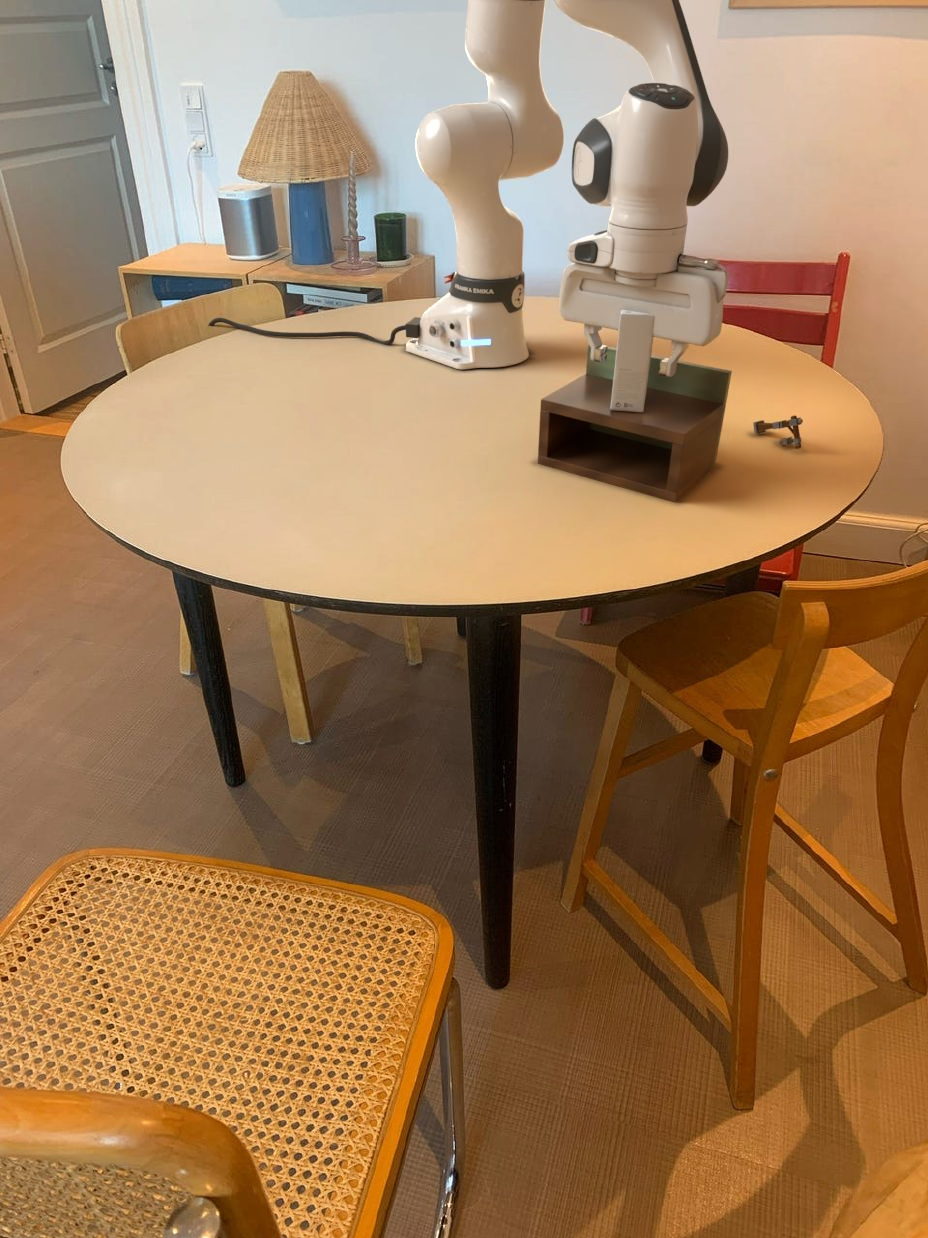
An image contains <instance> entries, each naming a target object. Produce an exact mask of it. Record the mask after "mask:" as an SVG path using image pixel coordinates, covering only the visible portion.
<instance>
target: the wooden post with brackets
mask: <svg viewBox="0 0 928 1238" xmlns="http://www.w3.org/2000/svg"><path fill="white" fill-rule="evenodd" d="M752 422H753V432H754V436H756V435H759V434H763V433H767V432H766V431H768V430H779V429H784V428H787V429H788V430H789V431H790V433H791V434H792V435H793V437H792V436H788V437H783V438H780V440H779V444H780V446H791V445H794V447H795V449H797V450H799V449H802V448H803V446H802V437H801V435H800V427H799V426H800V425H802V424H803V423H804V420H803V418H801V417H798V416H797V415H791V416H790V418H789V419H788V420H787V419H784V420H780V421H774V422H765V420H764V419H761V420H757V421H752Z"/></svg>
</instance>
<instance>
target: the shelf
mask: <svg viewBox="0 0 928 1238" xmlns="http://www.w3.org/2000/svg"><path fill="white" fill-rule="evenodd" d="M607 346H608V350H607V352H606V353H607V358H606V360H605V361H603V362H596V361H591V360H590V356H591V347H590V345H589V344H588V345H587V355H586V366H585V369H586V370H585V373H584V374H583V375H581V376H580V377H578V378H576V379H574V380H572V381H571V382H569V383H566V384H565V385H564V386H562V387H560V388H557V389H556V390H555V391H553V392H551V393H549V394H548V395H546V396H544V397H543V398H541V399H540V409H539V410H540V411H539V431H538V449H537V450H538V451H537V464H538V465H543V466H546V467H549V468H553V469H557V470H559V471H563V472H567V473H570V474H574V475H578V476H581V477H585V478H588V479H592V480H596V481H599V482H603V483H606V484H610V485H613V486H617V487H620V488H624V489H627V490H630V491H635V492H638V493H642V494H644V495H648V496H652V497H655V498H659V499H663V500H665V501H670V502H673V503H676V502H677V501H678V500H679V499H680V498H682V497H683V496H684V495H685V494H686V493H687V492H688V491H689V490H690V489H691V488H692V487H693V486H695V485H696V484H697V483H699V481H701V479H703V478H704V477H705V476H706V475H707V474H708V473H709V472H711V470H713V469H714V468H715V466H716V464H717V457H718V452H719V445H720V440H721V435H722V430H723V423H724V418H725V413H726V406H727V402H728V396H729V389H730V384H731V379H732V372H733V371H732V370H729V369H724V368H719V367H715V366H709V365H703V364H699V363H693V362H689V361H683V360H680V359H679V360H677V366H676V372H675V374H674V375H673V376H672V377H667V376H663V375H659V370H660V361H662V360H664V359H665V358H666V357H663V356H659V355H653V354H651V360H650V368H649V375H648V382H647V390H646V397H645V404H644V411H643V412H630V411H615V410H611V409H610V407H611V397H612V388H613V379H614V370H615V360H616V350H617V347H613V346H609V345H607Z"/></svg>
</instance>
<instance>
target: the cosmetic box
mask: <svg viewBox="0 0 928 1238" xmlns="http://www.w3.org/2000/svg"><path fill="white" fill-rule="evenodd" d="M654 319H655V316H654V315H652V314H647V313H641V312H634V311H628V310H621V314H620V321H619V330H617V331H618V332H617V341H616V342H617V343H616V348H617V350H616V360H615V370H614V379H613V388H612V397H611V407H610V409H611V410H615V411H630V412H643V411H644V404H645V397H646V390H647V382H648V375H649V368H650V360H651V355H652V350H653V344H654V343H653V342H654V337H653V327H654Z"/></svg>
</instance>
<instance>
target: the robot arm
mask: <svg viewBox="0 0 928 1238" xmlns="http://www.w3.org/2000/svg"><path fill="white" fill-rule="evenodd" d="M553 1H554V3H555V5H556V7H557V8H558V9H559V10H560V11H561V12H562V13H563V14H564V15H565V16H566V17H567V18H569V19H570V20H571V21H573V22H574V23H575V24H578V25H579V26H582V27H584V28H586V29H589V30H592V31H596V32H598V33H602V34H604V35H606V36H609V37H612V38H614V39H616V40H618V41H621V42H622V43H624V44H625V45H628V46H630V48H632V49H633V50H635V51H636V52H637V53H638V54H639V55H640V56H641V57H642V58H643V59H644V61H645V63H646V65H647V67H648V69H649V73H650V75H651V79H652V82H648V83H647V82H645V83H640V84H637V85H634V86H632V87H630V88H629V89H628V90H626V91H625V93H624V95H623V97H622V100H621V103H620V105H619V106H618V107H616V108H615V109H613V110H612V111H609V112H608V113H606V114H604V115H602V116H599V117H594V118H593V117H592V118H591V120H589V121H588V122H587V123H586V124H585V126H584V127H583V128H582V129H581V130H580V132H579V133H578V135H577V136H576V137H575V139H574V142H573V147H572V155H571V182H572V185H573V187H574V188H575V190H576V191H577V192H578V194H579V195H580V196H581V197H582V199H583V200H584V201H586V202H587V203H588V204H590V205H594V206H600V207H611V212H610V215H609V218H608V225H607V229H606V230H601V231H598V232H596V233H594V234H590V235H586V236H583V237H581V238H579V239H576V240H573V241H572V242H570V243H569V244H568V246H567V251H566V253H567V254H566V255H567V259H568V261H570V262H569V263H568V264H567V265H566V266H565V267H564V270H563V272H562V276H561V281H560V286H559V294H558V295H559V296H558V312H559V314H560V317H561V318H562V320H564V321H566V322H572V323H576V324H577V323H578V324H583V325H584V326H583V335H584V336H585V338H586V340H587V343H588V345H590V347H591V356H590V360H591V361H596V362H603V361H605V360H606V358H607V353H606V352H607V350H608V346H609V345H605V344H603V341H602V339H601V337H600V333H599V332H600V331H601V330H602V329H603V328H604V329H609V330H614V331H618V330H619V321H620V314H621V310H628V311H634V312H641V313H647V314H652V315H654V316H655V319H654V327H653V338H656V339H663V340H667V341H671V343H670V350H673V352H672V354H670V355H671V356H670V357H664V358H665V359H664V360H662V361H660V370H659V375H663V376H667V377H672V376H673V375H674V374H675V372H676V366H677V360H679V361H680V359H681V357H682V356H683V355H684V354H685V352H686V351H687V349H688V348H689V346H690V345H694V346H699V347H704V346H707V345H709V344H711V343H712V342H714V340H716V339H717V338H718V337H719V336H720V335H721V333H722V327H723V326H722V325H723V315H724V298H725V296H726V294H727V291H728V284H729V273H728V271H727V269H726V267H725V266H723V265H722V264H721V263H720V262H719V260H717V259H714V258H709V257H708V258H703V257H699V256H695V255H687V254H684V253H685V244H686V237H687V231H688V230H687V229H688V221H689V218H688V210H687V207H696V206H699V204H701V203H702V202H703V201H704V200H706V199H707V198H708V197H709V196H710V195H711V194H712V193H713V192H714V191H715V190H716V188H717V187H718V185H720V183H721V182H722V180H723V178H724V176H725V174H726V172H727V169H728V168H727V167H728V162H729V144H728V138H727V136H726V133H725V130H724V128H723V125H722V123H721V121H720V119H719V117H718V115H717V113H716V111H715V109H714V107H713V105H712V103H711V100H710V98H709V97H710V96H709V94H708V92H707V87H706V84H705V81H704V77H703V73H702V71H701V68H700V65H699V60H698V57H697V54H696V51H695V47H694V44H693V40H692V37H691V34H690V31H689V28H688V24H687V21H686V17H685V14H684V12H683V8H682V5H681V3H680V0H553ZM546 3H547V0H467V10H466V21H465V34H464V50H465V53H466V55H467V58H468V60H469V61H470V62H471V64H472V65H473V67H475V68H476V69H477V70H478V71H479V72H480V73H482V74H483V75H485V77H486V81H487V87H488V97H487V101H486V102H475V103H474V102H471V103H455V104H450V105H448V106H445V107H442V108H439V109H437V110H434V111H431V112H429V113H427V114H426V115H425V116H424V117H423V118H422V120H421V122H420V124H419V126H418V130H417V132H416V137H415V153H416V158H417V161H418V164H419V167H420V168H421V170H422V172H423V174H424V175H425V176H426V177H427V178H428V180H430V181H431V182H432V183H433V184H434V185H436V186H437V187H438V188H439V190H440V191H441V192H442V194H443V196H444V197H445V199H446V200H447V203H448V205H449V207H450V210H451V214H452V217H453V221H454V227H455V239H456V240H455V241H456V268H457V269H456V270H455V271H453V272H451V274H449V275H445V276H444V277H443V278H444V279H446V280H445V281H443V284H448V283H450V286H449V289H448V292H447V293H446V294H445V295H444V296H443V297H441V298H440V299H439V300H437V302H436V303H434V304H433V305H432V306H430V307H429V308H428V309H427V310H425V311H424V313H422V315H421V317H419V316H414V317H412V318H411V319H410V320H408V322H406V323H405V324H404V325H400V326H397V327H395V328H394V329H392V331H391V333H390V338H389V339H388V340H379V339H377V338H375V337H373V336H371V335H369V334H367V333H365V332H359V331H328V332H327V331H326V332H286V331H285V332H284V331H272V330H266V329H261V328H257V327H255V326H250V325H247V324H242V323H238V322H235V321H233V320H230V319H227V318H224V317H216V318H213V319H211V321H209V323H208V324H207V326H208V327H213V326H215V325H216V324H218V323H222V324H226V325H229V326H231V327H234V328H237V329H240V330H246V331H250V332H253V333H256V334H260V335H264V336H269V337H279V338H331V337H332V338H333V337H357V338H362V339H365V340H368V341H370V342H373V343H377V344H380V345H384V346H390V345H392V344H393V343H394V342H395V340H396V335H397V334H398V333H399V332H401V331H405V337H406V338H409V341H408V342H407V343H406V345H405V351H406V352H408V353H410V354H413V355H416V356H419V357H422V358H425V359H428V360H431V361H433V362H435V363H439V364H442V365H445V366H447V367H451V368H453V369H455V370H470V369H478V368H487V369H488V368H503V367H509V366H514V365H517V364H520V363H522V362H525V361H526V360H527V359H528V358H529V356H530V354H529V349H528V346H527V341H526V340H527V339H526V334H525V327H524V317H523V315H524V313H523V307H524V302H525V285H526V284H525V283H526V279H525V278H526V276H525V271H523V262H524V261H523V260H524V237H525V236H524V233H525V231H524V229H525V228H524V225H523V221H522V220H521V218H520V217H519V216H518V215H517V214H516V213H515V212H514V211H513V210H511V209H510V208H509V207H506V206H505V205H504V202H503V201H502V198H501V195H500V194H501V193H500V188H499V187H500V185H499V184H500V182H501V181H510V180H511V181H512V180H519V179H528V178H531V177H533V176H536V175H538V174H541V173H544V172H546V171H549V170H550V169H552V168H553V167H554V166H556V164H557V163H558V162H559V159H560V157H561V155H562V152H563V149H564V144H565V131H564V125H563V121H562V119H561V117H560V115H559V113H558V111H557V109H555V108H554V107H553V106H552V105H551V102H550V100H549V99H548V97H547V94H546V91H545V89H544V83H543V78H542V71H541V49H542V39H543V38H542V37H543V28H544V19H545V12H546V11H545V10H546V5H547V4H546Z"/></svg>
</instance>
